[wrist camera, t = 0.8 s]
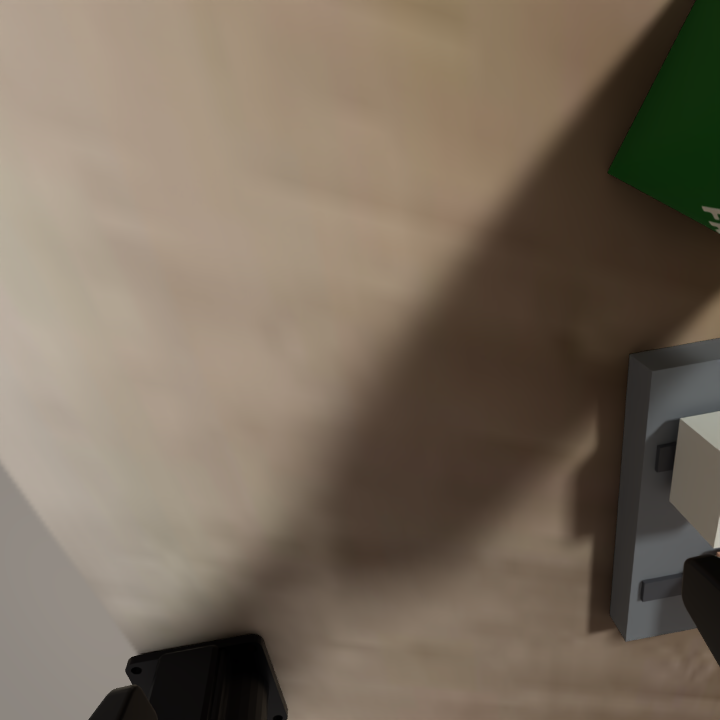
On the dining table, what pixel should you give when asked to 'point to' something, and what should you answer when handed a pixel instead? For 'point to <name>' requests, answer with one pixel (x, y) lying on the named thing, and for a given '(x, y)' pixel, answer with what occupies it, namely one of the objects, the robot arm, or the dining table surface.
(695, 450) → the fader ivory
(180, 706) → the robot arm
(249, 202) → the dining table surface
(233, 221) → the dining table surface
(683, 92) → the milk carton
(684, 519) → the console
